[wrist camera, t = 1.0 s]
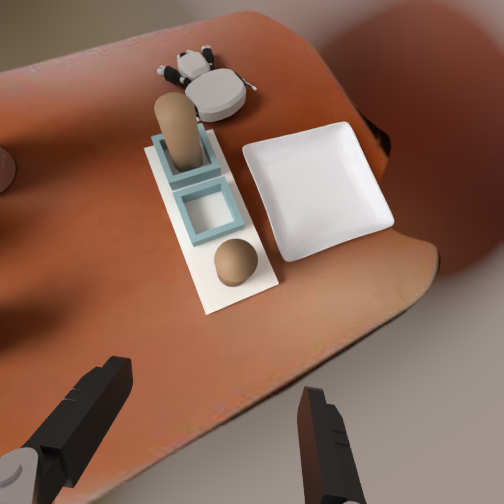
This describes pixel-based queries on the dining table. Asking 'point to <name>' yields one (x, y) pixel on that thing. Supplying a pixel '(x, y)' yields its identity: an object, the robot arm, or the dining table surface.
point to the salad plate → (317, 189)
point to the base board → (202, 201)
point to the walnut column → (235, 262)
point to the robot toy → (207, 85)
